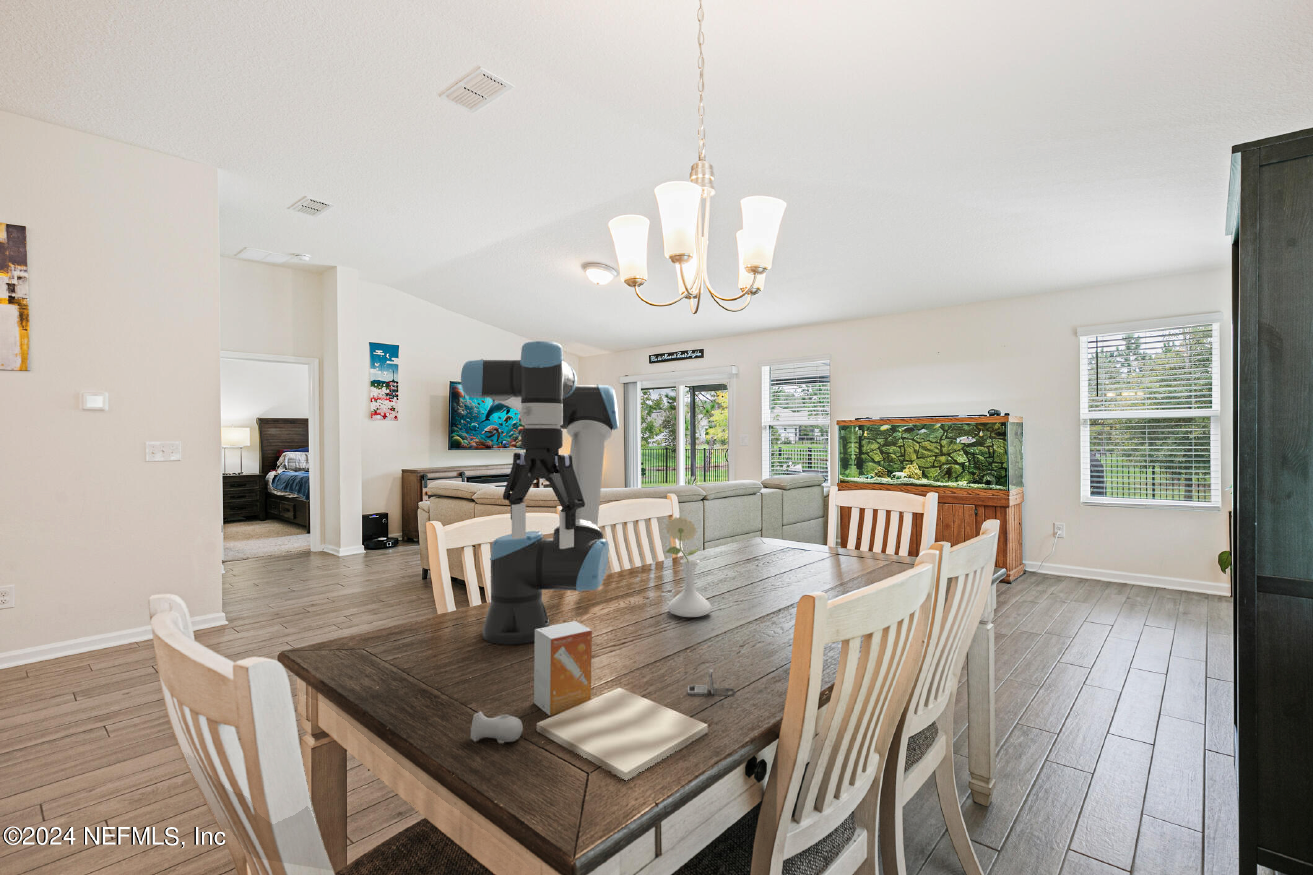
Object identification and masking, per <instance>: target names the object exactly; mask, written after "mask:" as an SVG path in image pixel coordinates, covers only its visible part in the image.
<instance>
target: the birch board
mask: <svg viewBox="0 0 1313 875" xmlns="http://www.w3.org/2000/svg"><path fill="white" fill-rule="evenodd" d="M536 732H538V733H539V734H542V736H545V737H546V738H548V739H550V740H552V741H554V742H555V743H557V744H559V745H560V746H562V747H564V748H566V749H568V750H569V751H571V750H572V751H571V752H573V751H574V752H573V753H575V754H576V753H577V754H576V755H578V754H580V755H581V756H580V755H579V756H580V757H582V756H583V757H582V758H584V759H585V758H587V759H589V760H591V761H592V762H594V763H596V764H598V765H599V766H602V767H604V768H605V769H607V770H608V771H611V772H613V773H614V774H616V775H617V776H619V777H621V778H622V779H624V780H628V779H629V780H631V779H633V778H634V777H637V776H638V775H639V774H640V773H639V772H641V773H643V772H644V771H646V770H647V768H648V767H649V768H651V767H652V766H654V765H656V764H658V763H660V762H661V761H663V760H665V759H666V758H667V756H668V757H669V756H671V755H673V754H675V753H676V752H678V751H680V750H681V749H683V748H685V747H686V746H688V745H689V744H691V743H693V742H694V741H696V740H698V739H699V738H701V737H703V736H705V735H706V734H707V733H709V724H706V723H704V722H702V721H700V720H698V719H695V718H692V717H690V716H688V715H685V714H683V713H680V712H678V711H676V710H673V709H671V708H668V707H666V706H664V705H661V704H659V703H657V702H655V701H652V700H650V699H647V698H644V697H643V696H640V695H638V694H636V693H633V692H631V691H628V690H626V689H623V688H621V687H617V688H616V689H613V690H610V691H608V692H606V693H604V694H601V695H598V696H596V697H595V698H591V700H590V701H587V702H585V703H583V704H580V705H578V706H576V707H573V708H571V709H569V710H566V711H564V712H561V713H557V714H554V715H552V716H550V717H548V718H545V719H544V720H541V721H539V722H537V723H536ZM692 741H693V742H692ZM675 751H676V752H675ZM670 754H671V755H670ZM587 759H586V760H587ZM662 759H663V760H662ZM589 760H588V761H589ZM591 761H590V762H591ZM592 762H591V763H592ZM657 762H658V763H657ZM594 763H593V764H594ZM655 763H656V764H655ZM596 764H595V765H596ZM598 765H597V766H598ZM599 766H598V767H599ZM650 766H651V767H650ZM649 768H648V769H649ZM605 769H604V770H605ZM645 769H646V770H645ZM607 770H606V771H607ZM608 771H607V772H608ZM642 771H643V772H642ZM638 773H639V774H638ZM614 774H613V775H614ZM637 774H638V775H637ZM617 776H616V777H617ZM633 776H634V777H633ZM619 777H618V778H619ZM632 777H633V778H632ZM621 778H620V779H621ZM630 778H631V779H630ZM622 779H621V780H622ZM624 780H623V781H624ZM629 780H628V781H629Z"/></svg>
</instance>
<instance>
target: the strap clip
mask: <svg viewBox="0 0 1313 875" xmlns="http://www.w3.org/2000/svg"><path fill="white" fill-rule="evenodd" d="M713 673H714V669H711V668H709V671H708V676H709V686H708V685H706V684H705V685H702V684H691V685H688V686H687V695H688V696H694V695H695V696H696V697H697V696H702V695H704V696H707V697H708V695H710V692H711V695H712V696H716V697H728V696H729V697H735V696H736V692H735V689H734V688H729V687H717V688H716V687H714V681H713V675H712V674H713ZM709 687H710V688H709ZM728 691H731V692H732V694H729V692H728ZM695 696H694V697H695Z"/></svg>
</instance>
